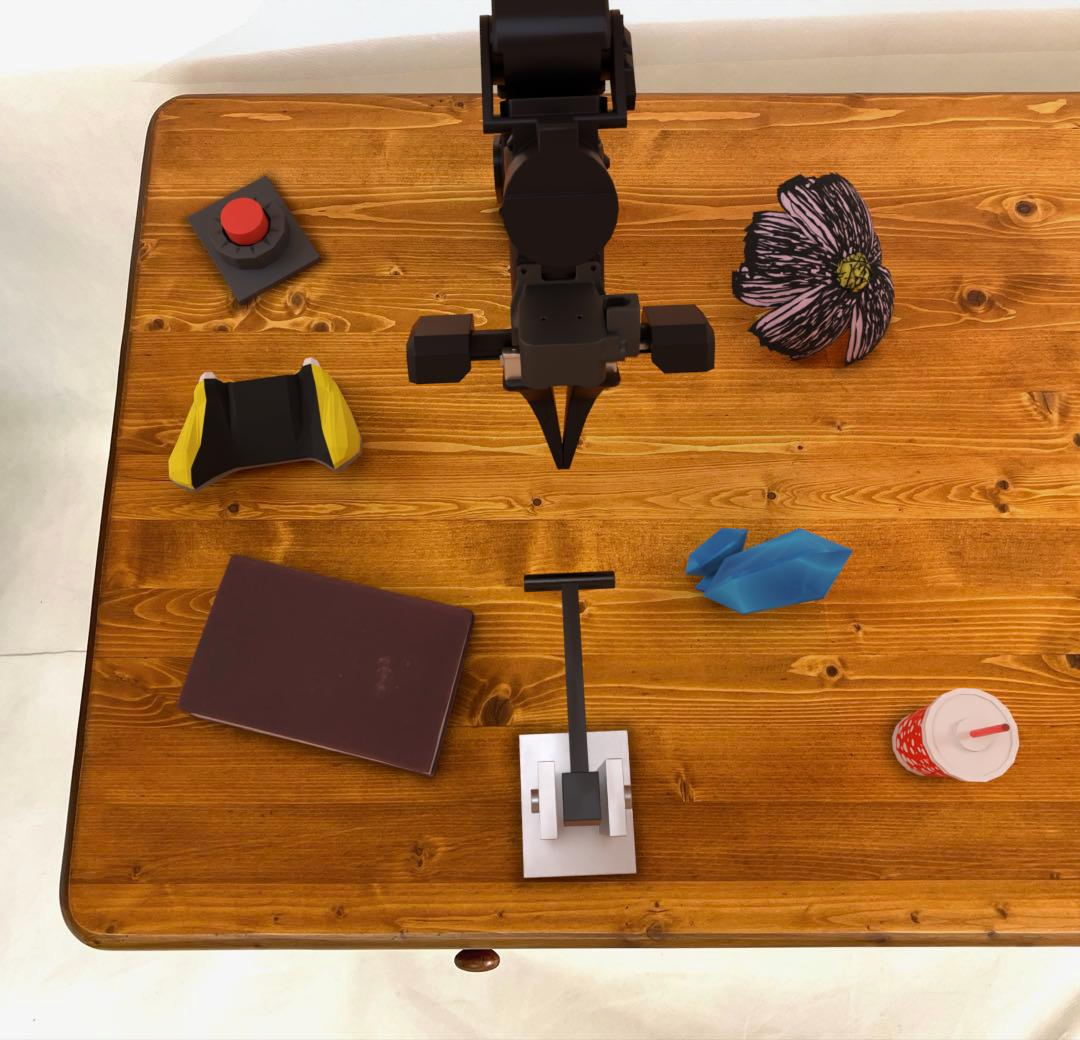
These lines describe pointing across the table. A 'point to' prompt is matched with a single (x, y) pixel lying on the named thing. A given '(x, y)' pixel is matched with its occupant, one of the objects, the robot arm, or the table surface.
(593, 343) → the robot arm
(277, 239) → the control block
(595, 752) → the bracket
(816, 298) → the decorative flower
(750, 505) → the table surface
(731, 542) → the crystal
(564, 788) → the lever
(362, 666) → the book
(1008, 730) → the beverage cup
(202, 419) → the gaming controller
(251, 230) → the button
